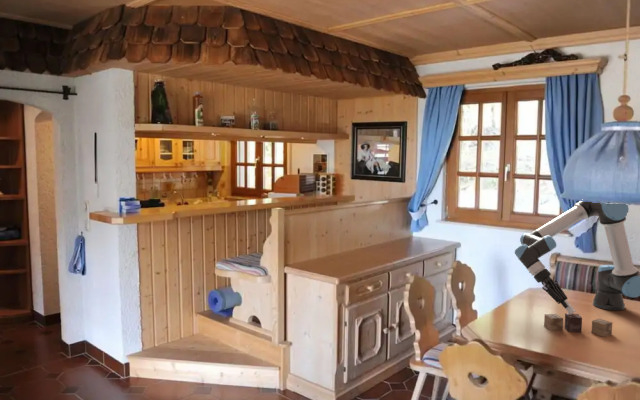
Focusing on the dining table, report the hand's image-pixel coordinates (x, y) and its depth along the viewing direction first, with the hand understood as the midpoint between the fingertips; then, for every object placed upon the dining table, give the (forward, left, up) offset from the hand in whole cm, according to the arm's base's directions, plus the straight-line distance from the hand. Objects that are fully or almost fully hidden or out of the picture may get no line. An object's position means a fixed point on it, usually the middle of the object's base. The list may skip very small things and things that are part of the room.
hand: (572, 312), depth 235 cm
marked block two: (+7, -5, -8) cm, 12 cm away
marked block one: (-9, +8, -8) cm, 15 cm away
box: (0, 0, -9) cm, 9 cm away
